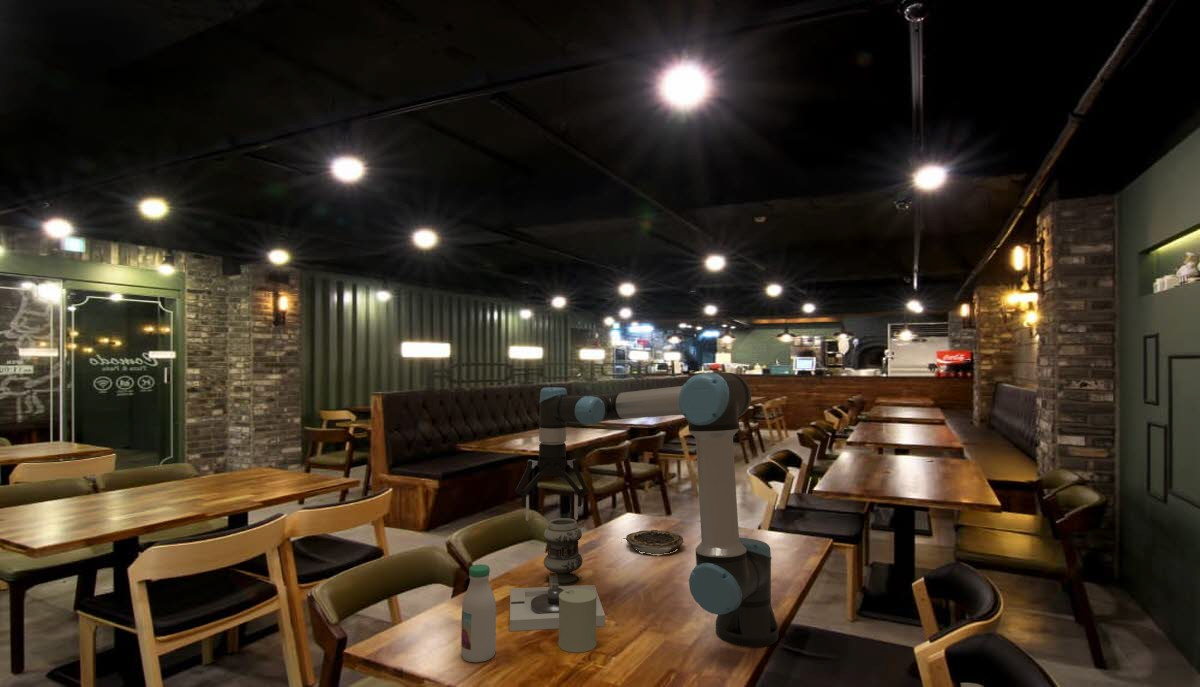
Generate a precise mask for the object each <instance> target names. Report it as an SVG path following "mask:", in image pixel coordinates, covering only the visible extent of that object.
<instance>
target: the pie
mask: <svg viewBox="0 0 1200 687" xmlns="http://www.w3.org/2000/svg"><path fill="white" fill-rule="evenodd" d="M622 539H626V540H627V542H626V543H628V544H629V545H630V546H631V548H633V549H634V548H635V549H637V550H638V551H640V552H645V553H651V554H664V553H670V552H673V551H675V550H676V549H678V548H679V549H680V547H681V546H682V545H683V544H684V543H685V541H684V537H683V536H682V535H681V534H678V533H674V532H673V533H672V532H670V531H669V530H663V529H660V530H658V529H651V530H639V531H634V532H631V533H628V534H627V535H626V536H625V537H624V538H622ZM635 549H634V550H635ZM637 550H636V551H637ZM638 551H637V552H638Z"/></svg>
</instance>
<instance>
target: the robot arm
mask: <svg viewBox="0 0 1200 687" xmlns="http://www.w3.org/2000/svg"><path fill="white" fill-rule="evenodd" d="M538 402H539V406H538V407H539V429H538V430H539V431H538V437H539V438H538V440H539V442H540V443H539V444H538V460H533V459H530V458H529V459H528V460H527V464H526V468H525V470H524V472H523V474H522V476H521V478H520V481H519V483H518V484H517V486H516V488H515V494H516V495H520V496H521V508H523V509H525V521H526V522H527V521H529V518H530V517H529V516H530V515H529V514H530V511H529V510H530V509H529V507H530V495H529V493H530V491H532V489H533V488H534V487H535V486H536V484H537V483H538V482H539V481H540V479H542V477H543V476H545V477H559V476H560V475H561V477H562V478H564V480H565V481H566V482H567V483H568V485H569V486H570V487H571V488H572V489H573V491H575V493H574V495H573V497H574V502H573V503H574V504H573V505H574V507H573V508H574V509H573V512H574V515H573V517H574V520H576V521H577V520H578V519H579V517H578V514H579V511H578V510H579V507H582V505H583V501H582V500H583V495H584V494H588V493H589V489H588V486H587V484H586V483H585V481H584V478H583V476H582V474H581V472H580V471H579V468H578V461H577V459H576V458H573V459H570V460H567V443H566V441H567V423H568V424H569V423H571V424H577V425H578V424H580V425H585V426H588V425H591V426H593V425H598V424H600V423H601V422H607V421H618V420H619V421H620V420H629V419H641V418H655V417H656V418H657V417H669V416H671V417H672V416H679V415H680V416H681V415H682V416H683V417H684V418H685V419H686V421H687V422H688V423H687V424H688V432H689V434H691V435H692V436H693V437H694V438H695V448H696V450H695V451H696V465H697V467H696V468H697V484H698V500H699V501H698V503H699V517H700V520H699V521H700V522H699V523H700V538H701V539H700V540H701V542H700V543H699V544H698V545H697V546H696V547H695V566H694V568H693V569H692V571H691V573H690V575H689V578H688V586H689V591H690V594H691V596H692V598H693V600H694V601H695V603H697V604H698V605H699V606H700V607H701V609H702V610H704V611H706V612H707V613H709V614H712V615H717V617H716V620H715V634H716V636H717V637H718V638H719V639H720V640H723V641H724V642H727V643H729V644H731V645H735V646H739V647H746V648H763V647H764V648H765V647H768V646H772V645H773V644H775V643H777V642H778V640H779V626H778V622H777V620H776V616H775V614H774V610H773V608H772V607H773V606H772V603H771V602H772V600H771V599H772V594H771V593H772V554H771V553H772V552H771V547H770V545H769V544H768V543H766V542H765V541H764V540H763V541H762V540H759V539H753V538H748V537H740V535H739V534H740V533H739V519H738V518H739V517H738V503H737V500H738V499H737V487H736V486H737V483H736V471H735V470H736V469H735V468H736V467H735V450H734V449H735V448H734V436H735V434H737V433H738V431H739V430H740V425H739V424H740V423H739V418H740V417H741V416H743V415H744V414H746V412H747V411H748V410H749V408H750V405H751V402H752V391H751V388H750V385H749V383H748V382H747V381H746V379H745V378H743V377H742V376H740V375H739V374H737V373H733V372H707V371H706V372H703V373H699V374H695V375H693V376H691V377H690V378H689V379H687V380H686V382H685V383H684V384H683V385H681V386H672V387H671V386H670V387H669V386H668V387H662V388H651V389H642V390H636V391H626V392H624V391H623V392H615V393H606V394H594V395H570V394H569V395H568V393H567V389H566V388H565V387H560V386H559V387H557V386H556V387H555V386H554V387H542V388H541V389H540V393H539V401H538ZM536 466H537V467H538V469H539V470H538V472H537V473H536V475H535V476H534V477H533V478H532V480H530V482H529V483H528V484H526V481H527V480H528V478H529V475H530V474H531V471H532V470H533V469H535V467H536ZM567 466H569V467H570V469H572V470H573V472H574V474H575V475H576V476H575V477H576V478H577V480H578V482H579V484H580V486H581V489H580V488H579V486H578V485H577V484H576V483H575V481H574V480H573V479H572V478H571V476H570V475H569V474H568V473H567V472H566V471H565V469H566V467H567ZM525 484H526V486H525ZM524 486H525V487H524ZM523 487H524V489H523Z"/></svg>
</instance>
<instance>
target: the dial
mask: <svg viewBox="0 0 1200 687" xmlns="http://www.w3.org/2000/svg"><path fill="white" fill-rule="evenodd" d="M549 576H550V583H549V582H548V585H549V586H548V587H550V589H548V593H547V594H542V595H539V596H537V597H535V598H533V599H532V601H531V609H532V610H533V611H534V612H536V613H538V614H549V613H559V594H560V593H561V592H562V591H563V590H562V589H561V588H558V586H559V585H558V579H557V573H555V572H549Z"/></svg>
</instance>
